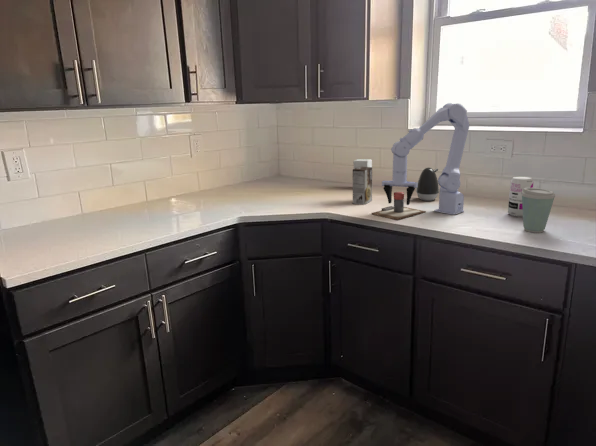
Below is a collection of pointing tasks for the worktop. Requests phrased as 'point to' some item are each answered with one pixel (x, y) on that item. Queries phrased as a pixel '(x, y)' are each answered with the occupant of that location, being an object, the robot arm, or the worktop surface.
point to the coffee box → (362, 185)
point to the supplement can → (518, 194)
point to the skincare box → (362, 163)
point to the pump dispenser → (428, 185)
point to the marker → (398, 202)
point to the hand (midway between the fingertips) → (398, 203)
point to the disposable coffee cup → (536, 208)
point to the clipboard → (389, 213)
